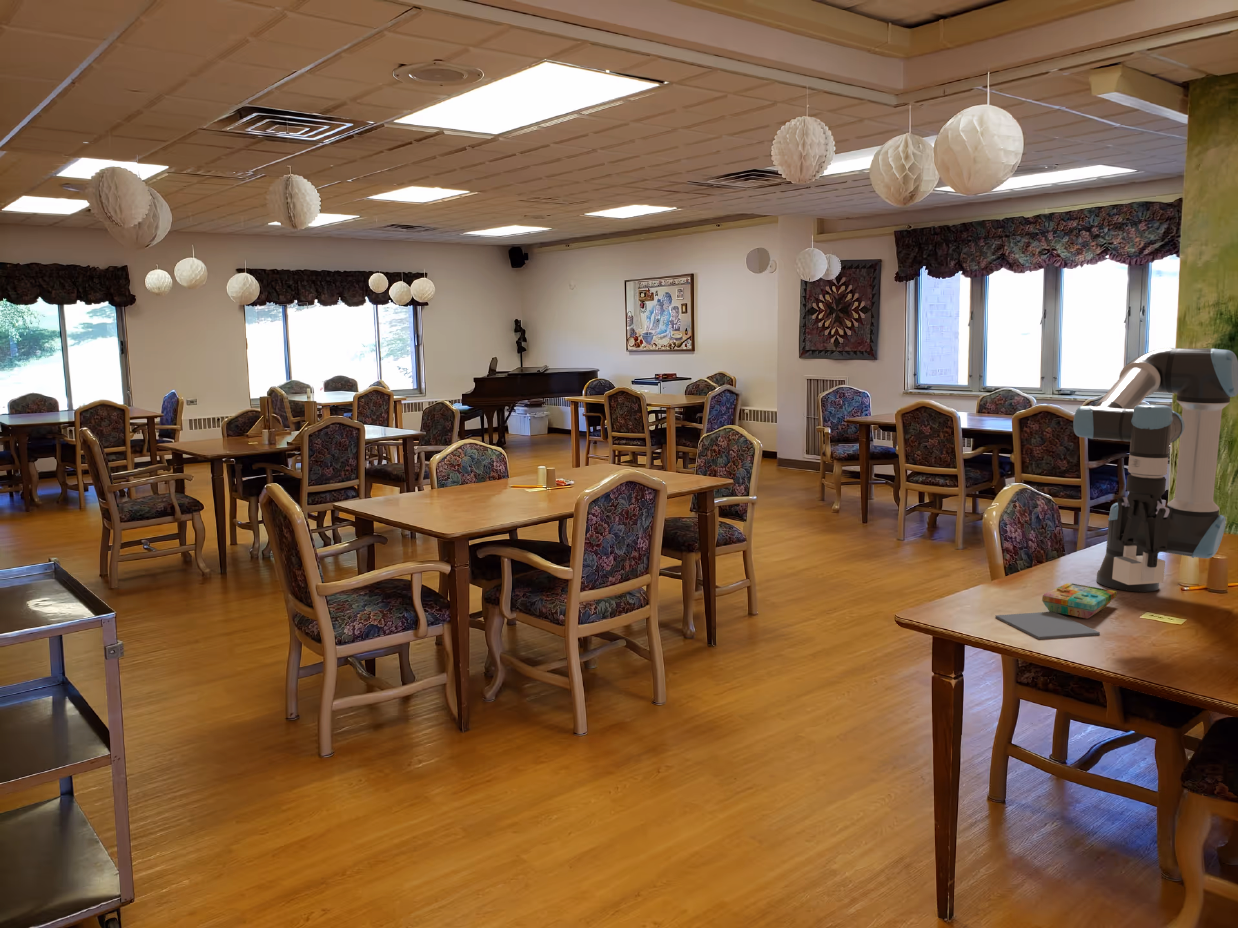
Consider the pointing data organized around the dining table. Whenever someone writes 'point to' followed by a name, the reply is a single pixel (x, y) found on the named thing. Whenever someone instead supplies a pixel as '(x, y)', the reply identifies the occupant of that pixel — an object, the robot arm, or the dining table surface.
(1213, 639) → the dining table surface
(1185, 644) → the dining table surface
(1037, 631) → the mat
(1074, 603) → the puzzle game
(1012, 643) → the dining table surface
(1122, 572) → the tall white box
